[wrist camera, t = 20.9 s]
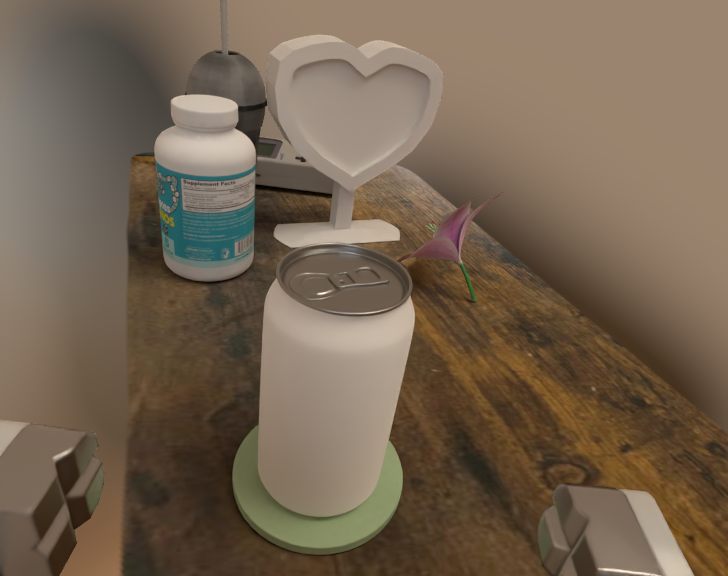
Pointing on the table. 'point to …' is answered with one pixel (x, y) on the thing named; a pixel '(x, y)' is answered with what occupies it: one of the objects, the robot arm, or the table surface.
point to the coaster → (310, 530)
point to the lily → (449, 239)
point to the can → (331, 374)
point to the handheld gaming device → (288, 168)
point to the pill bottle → (206, 190)
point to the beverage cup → (231, 83)
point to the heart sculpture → (349, 121)
